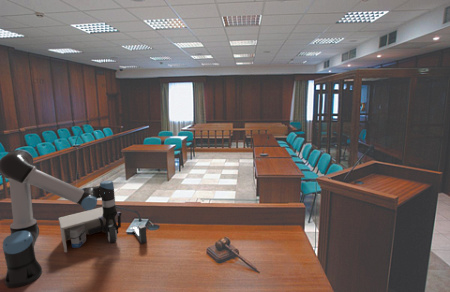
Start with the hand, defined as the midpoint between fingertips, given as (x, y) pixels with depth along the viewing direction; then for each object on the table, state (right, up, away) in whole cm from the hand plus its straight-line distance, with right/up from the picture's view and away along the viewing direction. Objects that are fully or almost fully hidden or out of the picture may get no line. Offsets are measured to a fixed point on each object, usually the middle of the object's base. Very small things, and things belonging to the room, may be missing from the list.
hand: (112, 239), depth 165 cm
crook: (-9, 0, +5) cm, 10 cm away
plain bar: (+15, -1, +6) cm, 16 cm away
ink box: (-21, -3, -1) cm, 21 cm away
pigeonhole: (-17, -1, +5) cm, 18 cm away
